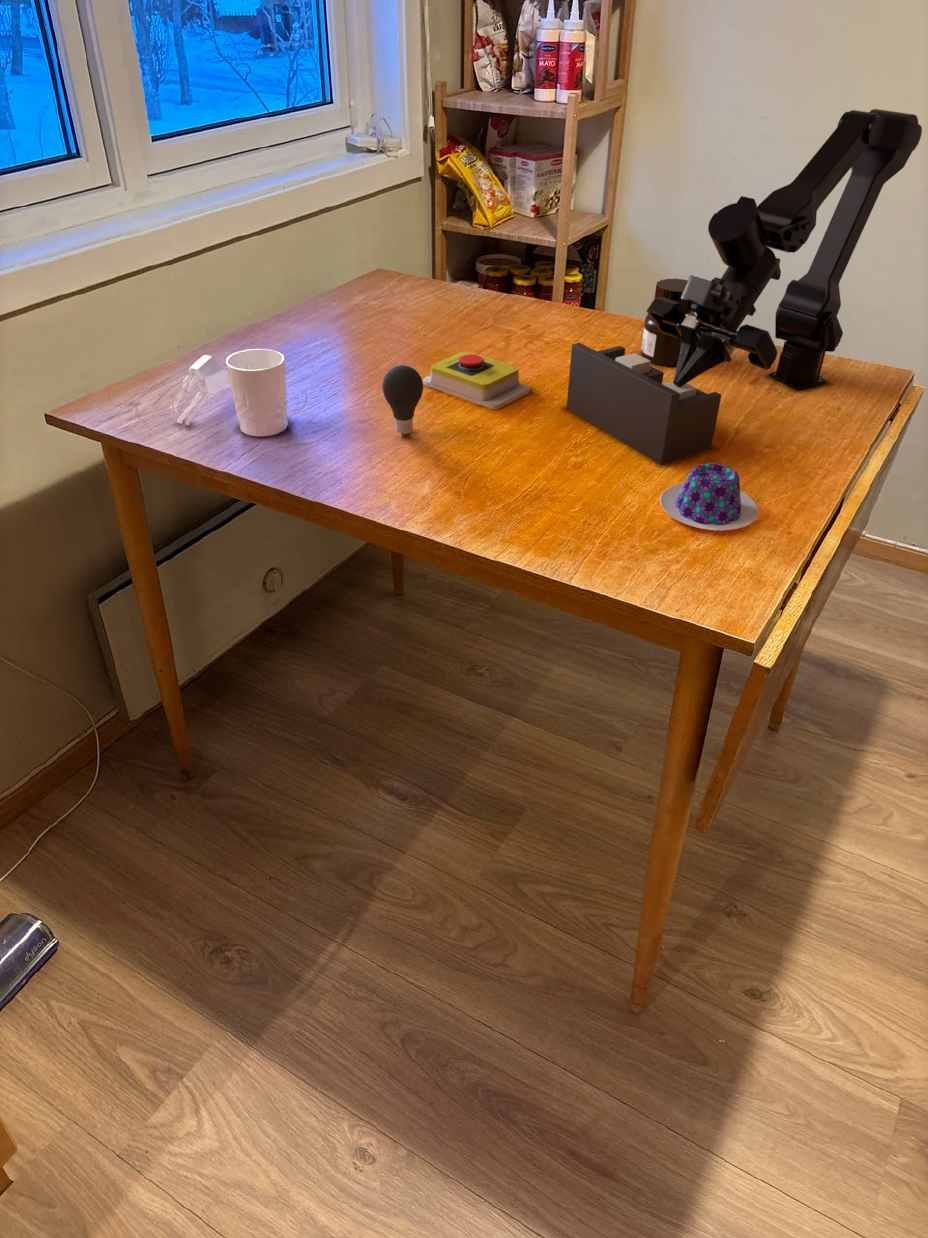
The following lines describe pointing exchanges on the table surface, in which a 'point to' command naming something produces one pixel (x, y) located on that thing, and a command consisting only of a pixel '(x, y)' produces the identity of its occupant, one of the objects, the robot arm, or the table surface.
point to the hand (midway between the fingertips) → (676, 384)
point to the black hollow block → (638, 406)
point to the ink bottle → (654, 341)
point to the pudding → (710, 499)
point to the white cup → (259, 391)
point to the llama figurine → (202, 384)
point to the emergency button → (477, 380)
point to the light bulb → (403, 395)
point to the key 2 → (682, 390)
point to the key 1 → (635, 362)
